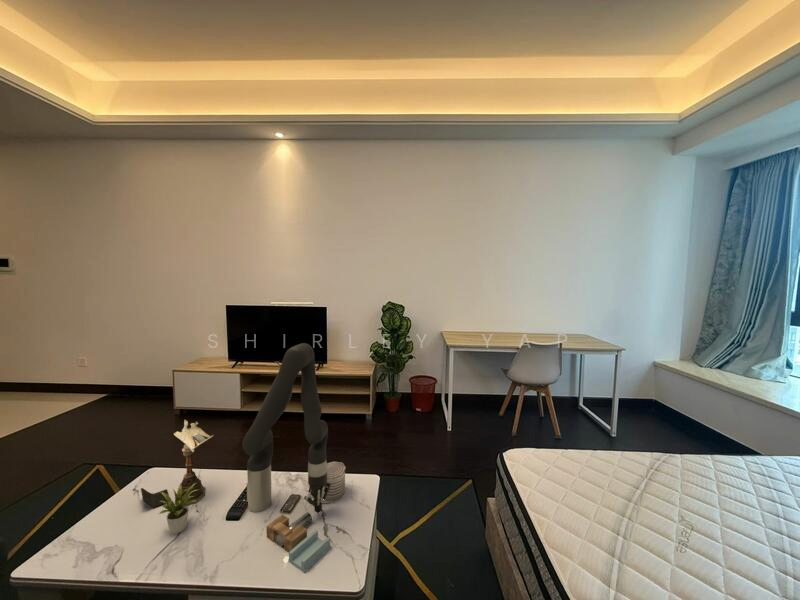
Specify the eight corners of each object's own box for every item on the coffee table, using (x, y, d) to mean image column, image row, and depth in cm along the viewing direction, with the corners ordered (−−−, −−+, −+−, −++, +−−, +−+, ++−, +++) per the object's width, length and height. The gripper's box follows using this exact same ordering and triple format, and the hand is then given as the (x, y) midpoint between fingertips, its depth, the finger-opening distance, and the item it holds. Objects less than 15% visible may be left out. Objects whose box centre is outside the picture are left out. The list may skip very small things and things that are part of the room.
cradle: (288, 561, 111) (288, 551, 111) (315, 538, 121) (315, 529, 121) (304, 572, 107) (304, 562, 107) (330, 547, 117) (330, 538, 117)
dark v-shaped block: (176, 496, 142) (157, 485, 138) (161, 513, 138) (141, 502, 133) (167, 489, 149) (149, 478, 145) (153, 505, 145) (134, 495, 140)
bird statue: (223, 490, 149) (221, 415, 147) (200, 510, 136) (197, 428, 134) (193, 485, 153) (191, 411, 151) (168, 503, 140) (165, 423, 138)
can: (349, 496, 145) (349, 470, 144) (325, 506, 139) (325, 479, 138) (339, 483, 155) (339, 458, 154) (315, 491, 148) (315, 466, 147)
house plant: (207, 529, 126) (205, 488, 125) (163, 550, 115) (161, 506, 114) (195, 511, 135) (194, 473, 134) (154, 529, 125) (152, 488, 124)
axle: (282, 549, 117) (282, 538, 117) (275, 543, 119) (275, 533, 119) (312, 524, 129) (312, 515, 128) (305, 519, 131) (305, 510, 130)
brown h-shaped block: (266, 537, 122) (266, 523, 121) (282, 525, 128) (282, 511, 127) (291, 554, 114) (291, 539, 114) (307, 541, 120) (306, 526, 120)
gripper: (323, 460, 140) (323, 499, 141) (298, 476, 129) (299, 518, 130) (335, 465, 136) (336, 505, 137) (311, 482, 125) (312, 525, 126)
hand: (318, 511), depth 134 cm, fingers closed
